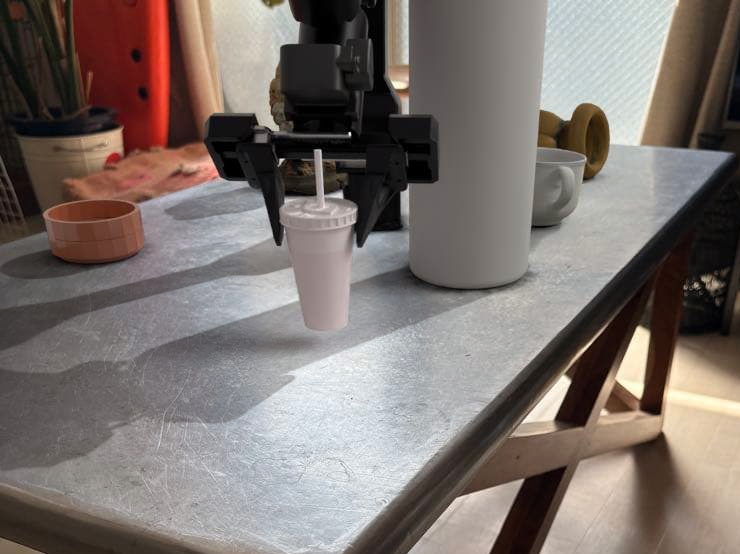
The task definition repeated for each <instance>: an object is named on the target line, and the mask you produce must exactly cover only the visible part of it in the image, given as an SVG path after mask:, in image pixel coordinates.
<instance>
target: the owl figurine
mask: <svg viewBox="0 0 740 554" xmlns="http://www.w3.org/2000/svg"><path fill="white" fill-rule="evenodd" d="M268 94H269V95H268V96H269V101H268V103H269V104H268V105H269V107H270V116H271V117H272V120H273V122H274V124H275V125H276V126H277V127H278V131H291V125H292V121H286V118H285V115H284V100H285V96H284V95H281V93H280V60H279V61H278V63H277V66H276V68H275V74H274V77H273V78H272V79H271V81H270V83H269V90H268ZM278 167H279V170H280V173H281V176H282V179H283V182H284V185H285V192H296V193H299V194H300V193H301V194H306V195H317V189H316V173H315V161H304V160H301V159H282V161H280V164H279V165H278ZM322 171H323V188H324V194H327V193H331V192H334V191H338V190H340V189H341V188H342V183H343V182H347V173H341V174H336V167H335V161H322Z"/></svg>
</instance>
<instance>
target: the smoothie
mask: <svg viewBox="0 0 740 554" xmlns="http://www.w3.org/2000/svg"><path fill="white" fill-rule="evenodd" d="M314 158H315V173H316V189H317V194H316V196H315V197H304V198H298V199H294V200H293V199H292V200H291V201H287V202H284V204H283V205H282V206H281V207H280V209H279V212H280V220H279V222H280V223H281V224H282V225H284V232H285V237H286V241H287V247H288V251H289V255H290V260H291V266H292V270H293V275H294V280H295V285H296V289H297V294H298V300H299V305H300V309H301V313H302V319H303V324H304V326H305V328H307V329H309V330H312V331H317V332H330V331H337V330H340V329H342V328H344V327H346V326H347V325H348V318H349V317H348V316H349V305H350V292H351V277H352V265H353V253H354V240H355V239H354V238H355V230H354V225H355V223H356V222H357V218H358V206H357V205H356V204H355V203H354V202H352V201H349V200H346V199H343V198H340V197H333V196H332V197H331V196H329V197H328V196H325V193H324V188H323V171H322V154H321V150H320V149H316V150H314Z"/></svg>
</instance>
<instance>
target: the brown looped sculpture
mask: <svg viewBox="0 0 740 554" xmlns="http://www.w3.org/2000/svg"><path fill="white" fill-rule="evenodd" d="M610 145H611V131H610V124H609V120H608V117H607V115H606V113H605V111H604V110H603V109H602V108H601V107H600V106H598V105H596V104H594V103H591V102H582V103H580V104H578V105H577V106H576V107H575V109H574V111H572V114H571V118H570V119H568V120H567V119H566V120H564V119H563V118H561V117H560V116H559V115H557V114H556V113H554V112H552V111H548V110H544V109H541V108H540V113H539V126H538V140H537V147H544V148H554V149H561V150H567V151H572V152H576V153H580V154H583V155H584V156H586V158H587V161H586V163H585V167H584V174H583V179H586V180H587V179H590V178H593V177H595V176H597V175H598V174H599V173H600V172H601V171H602V169H603V167H604V166H605V164H606V162H607V160H608V158H609V152H610Z"/></svg>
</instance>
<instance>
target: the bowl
mask: <svg viewBox="0 0 740 554" xmlns="http://www.w3.org/2000/svg"><path fill="white" fill-rule="evenodd" d="M42 218H43V222H44V226H45V231H46V235H47V239H48V244H49V248H50V251H51V253H52V255H54V256H56V257H58V258H60V259H61V260H63V261H66V262H70V263H75V264H102V263H103V264H104V263H110V262H116V261H121V260H123V259H128V258H130V257H133V256H134V255H136V254H137V253H138V252H140V250H141V249H142V248H143V247H145V245H146V242H147V241H146V235H145V229H144V225H143V218H142V213H141V207H140V205H139V204H138V203H136V202H133V201H130V200H124V199H117V198H116V199H114V198H95V199H93V198H91V199H84V200H83V199H82V200H75V201H70V202H65V203H61V204H58V205H55V206H52V207H49V208H48V209H46V210H45V211H44V212H43V213H42Z"/></svg>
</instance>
